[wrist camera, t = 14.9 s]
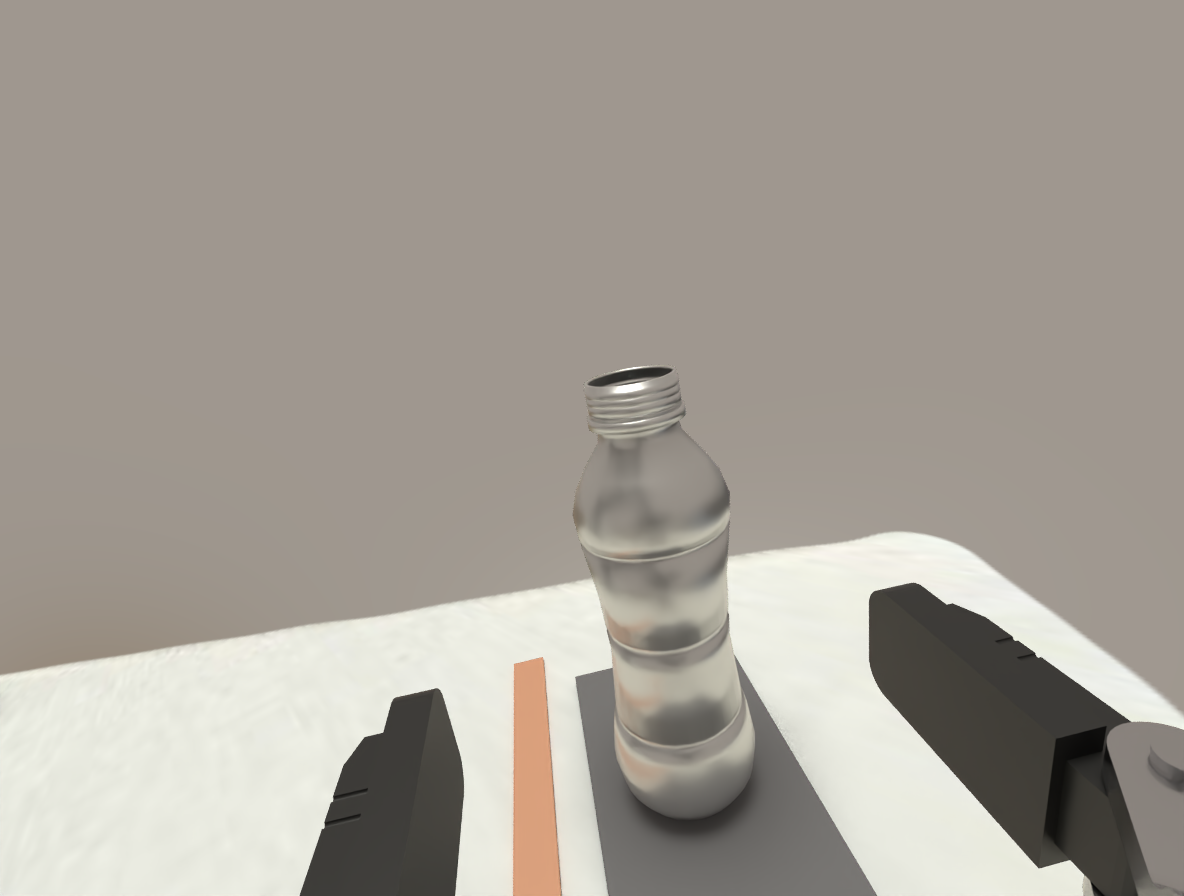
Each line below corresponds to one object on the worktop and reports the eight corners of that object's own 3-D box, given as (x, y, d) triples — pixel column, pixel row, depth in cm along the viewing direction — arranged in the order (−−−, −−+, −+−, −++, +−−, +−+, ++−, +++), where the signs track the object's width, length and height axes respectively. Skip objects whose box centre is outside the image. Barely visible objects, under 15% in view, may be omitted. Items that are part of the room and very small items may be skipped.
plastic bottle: (596, 780, 28) (513, 392, 22) (691, 706, 32) (640, 356, 26) (689, 876, 23) (612, 406, 17) (790, 775, 27) (754, 357, 21)
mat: (632, 1044, 19) (630, 1035, 19) (576, 683, 36) (575, 676, 36) (911, 963, 20) (911, 953, 19) (727, 647, 37) (726, 640, 37)
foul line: (514, 1222, 16) (511, 1216, 16) (515, 667, 39) (514, 664, 39) (584, 1200, 16) (582, 1194, 16) (543, 660, 39) (542, 657, 39)
